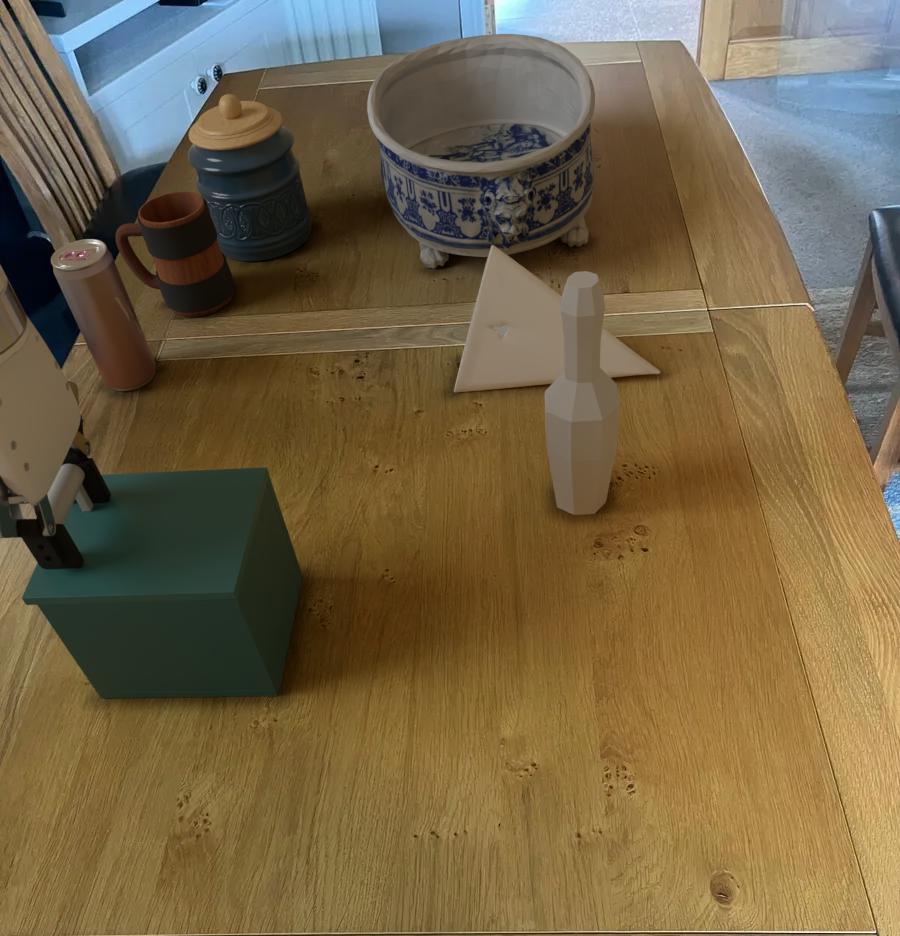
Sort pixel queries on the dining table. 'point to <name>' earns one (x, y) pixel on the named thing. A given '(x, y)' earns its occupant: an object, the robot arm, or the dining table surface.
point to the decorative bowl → (486, 144)
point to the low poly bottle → (582, 404)
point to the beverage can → (104, 313)
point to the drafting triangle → (525, 334)
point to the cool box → (194, 630)
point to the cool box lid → (153, 536)
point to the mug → (180, 254)
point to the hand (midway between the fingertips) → (77, 530)
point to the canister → (250, 180)
